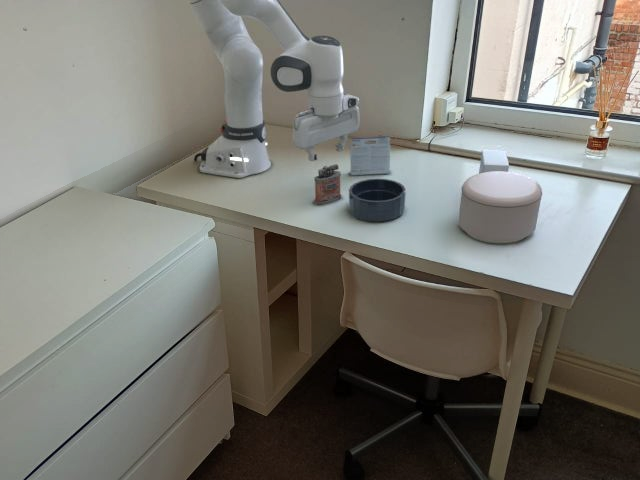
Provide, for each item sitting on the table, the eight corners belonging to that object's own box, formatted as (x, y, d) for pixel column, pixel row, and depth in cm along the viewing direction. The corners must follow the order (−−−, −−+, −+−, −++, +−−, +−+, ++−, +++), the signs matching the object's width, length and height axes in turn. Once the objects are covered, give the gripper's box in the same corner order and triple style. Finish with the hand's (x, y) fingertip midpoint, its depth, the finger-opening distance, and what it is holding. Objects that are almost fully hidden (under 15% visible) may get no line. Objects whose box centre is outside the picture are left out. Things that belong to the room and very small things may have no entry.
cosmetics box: (504, 202, 176) (509, 164, 170) (478, 201, 177) (483, 164, 171) (501, 185, 184) (506, 149, 178) (476, 185, 186) (480, 149, 180)
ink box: (389, 171, 199) (390, 133, 192) (389, 174, 197) (391, 136, 190) (349, 172, 200) (350, 135, 194) (350, 175, 198) (350, 138, 192)
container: (462, 209, 175) (467, 166, 168) (536, 216, 168) (544, 172, 162) (452, 241, 161) (457, 197, 155) (533, 250, 155) (541, 204, 148)
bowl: (344, 220, 175) (344, 199, 171) (354, 197, 186) (354, 177, 182) (400, 225, 170) (401, 203, 167) (407, 200, 181) (408, 180, 178)
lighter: (319, 206, 183) (318, 172, 177) (312, 202, 185) (311, 168, 180) (343, 198, 185) (343, 164, 180) (336, 194, 188) (336, 161, 182)
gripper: (301, 116, 163) (303, 169, 171) (363, 97, 172) (362, 148, 180) (286, 111, 168) (288, 163, 176) (347, 92, 177) (346, 142, 184)
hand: (326, 155), depth 178 cm, fingers open, 8 cm apart
